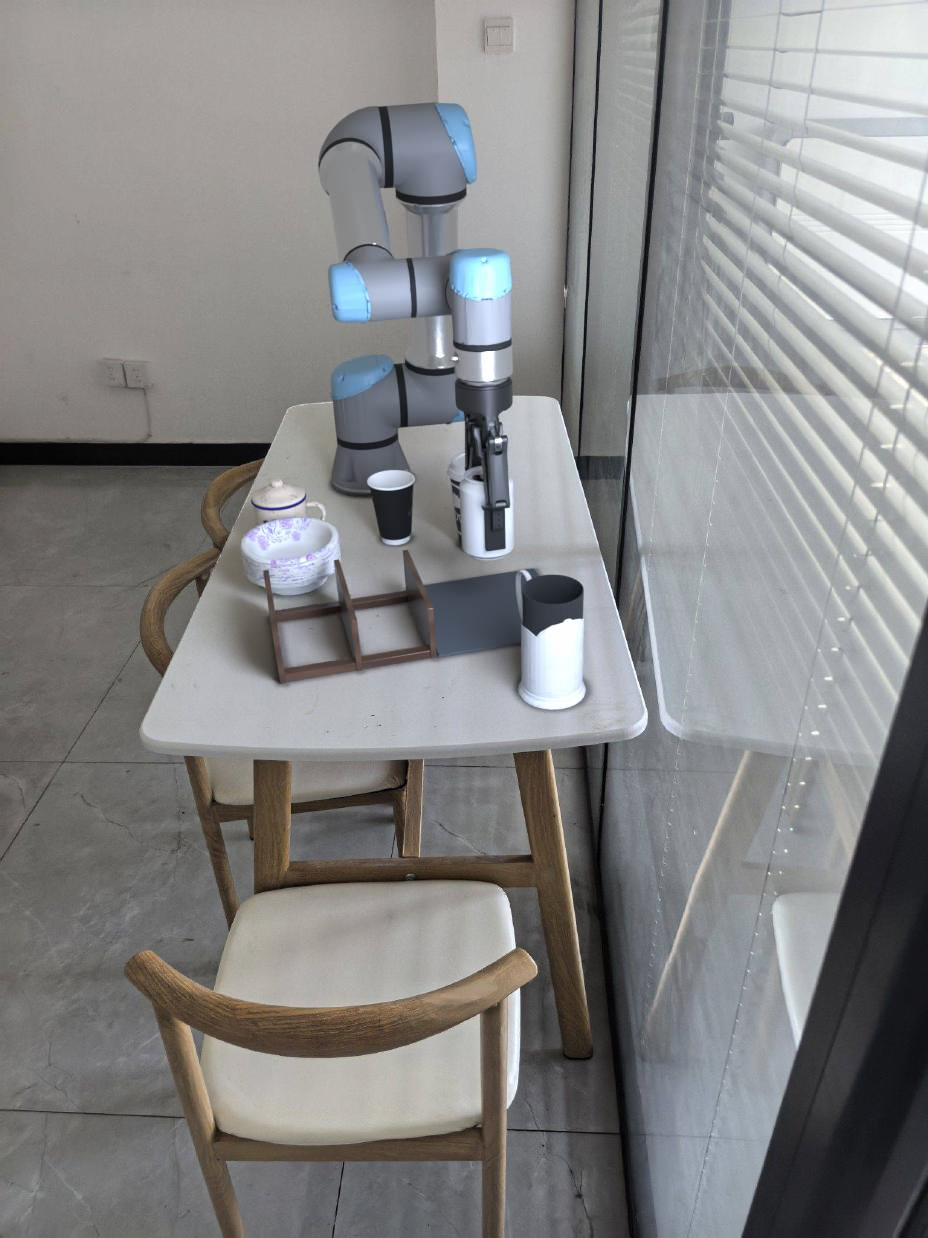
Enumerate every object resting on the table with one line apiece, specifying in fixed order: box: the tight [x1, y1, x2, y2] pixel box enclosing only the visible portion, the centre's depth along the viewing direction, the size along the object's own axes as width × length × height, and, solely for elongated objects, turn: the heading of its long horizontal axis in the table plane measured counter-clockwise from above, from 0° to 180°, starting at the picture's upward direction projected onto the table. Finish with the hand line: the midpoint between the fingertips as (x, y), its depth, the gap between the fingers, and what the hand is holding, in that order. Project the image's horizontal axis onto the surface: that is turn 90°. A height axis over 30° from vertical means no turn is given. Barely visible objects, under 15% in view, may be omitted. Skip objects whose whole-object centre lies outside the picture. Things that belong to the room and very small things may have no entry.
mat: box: [423, 567, 540, 658], centre depth 143 cm, size 20×20×1 cm
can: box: [459, 466, 515, 561], centre depth 135 cm, size 8×8×12 cm
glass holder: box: [516, 569, 587, 711], centre depth 124 cm, size 9×14×15 cm, turn 24°
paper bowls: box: [239, 516, 342, 596], centre depth 151 cm, size 15×15×8 cm
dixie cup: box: [367, 470, 416, 546], centre depth 162 cm, size 8×8×11 cm
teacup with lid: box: [250, 477, 327, 526], centre depth 162 cm, size 12×9×12 cm
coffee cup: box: [446, 451, 466, 549], centre depth 158 cm, size 10×10×15 cm
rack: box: [263, 549, 438, 684], centre depth 136 cm, size 18×21×8 cm
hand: (487, 536), depth 136 cm, fingers closed on can, 7 cm apart
